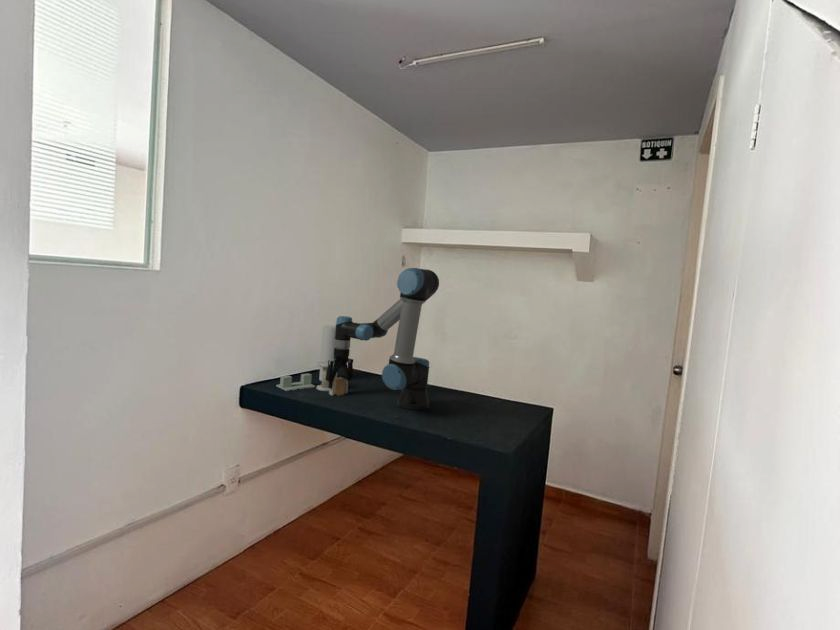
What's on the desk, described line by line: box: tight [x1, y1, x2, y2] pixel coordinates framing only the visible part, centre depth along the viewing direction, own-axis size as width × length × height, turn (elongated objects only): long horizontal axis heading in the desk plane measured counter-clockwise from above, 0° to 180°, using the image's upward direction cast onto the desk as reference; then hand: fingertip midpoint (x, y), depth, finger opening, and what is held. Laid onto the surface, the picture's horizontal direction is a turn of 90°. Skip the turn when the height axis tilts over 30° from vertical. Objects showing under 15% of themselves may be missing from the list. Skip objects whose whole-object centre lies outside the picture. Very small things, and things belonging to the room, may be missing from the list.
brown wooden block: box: [333, 376, 345, 397], centre depth 219 cm, size 4×4×8 cm
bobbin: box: [316, 361, 334, 392], centre depth 227 cm, size 9×9×13 cm
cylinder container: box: [319, 325, 338, 382], centre depth 245 cm, size 9×9×30 cm
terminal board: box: [276, 372, 316, 392], centre depth 226 cm, size 10×16×6 cm, turn 137°
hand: (338, 393), depth 220 cm, fingers open, 8 cm apart
